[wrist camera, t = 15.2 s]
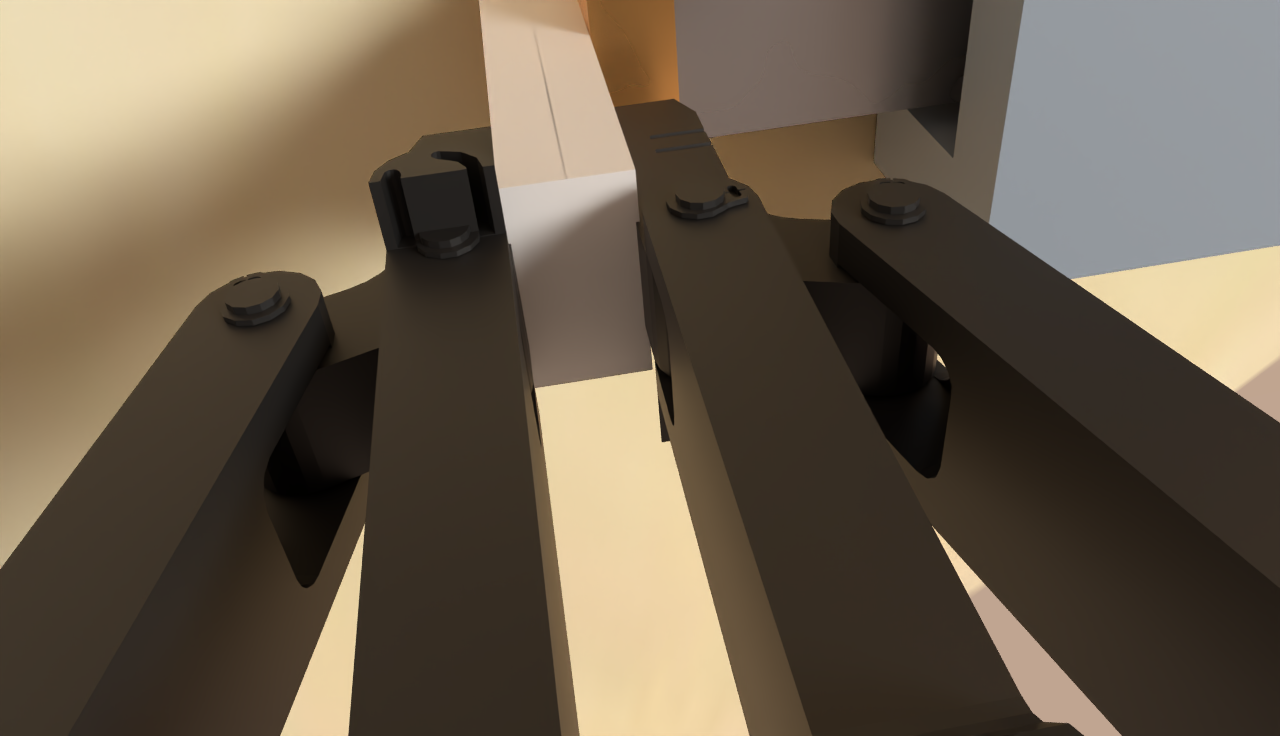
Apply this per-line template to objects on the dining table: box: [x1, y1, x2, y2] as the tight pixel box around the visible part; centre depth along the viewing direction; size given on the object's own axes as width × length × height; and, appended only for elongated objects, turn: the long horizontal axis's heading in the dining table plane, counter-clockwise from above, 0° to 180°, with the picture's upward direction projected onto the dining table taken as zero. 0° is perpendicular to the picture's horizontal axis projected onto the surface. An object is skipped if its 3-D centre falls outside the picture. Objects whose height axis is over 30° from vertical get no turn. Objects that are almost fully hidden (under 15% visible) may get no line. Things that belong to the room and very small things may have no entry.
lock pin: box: [577, 0, 973, 138], centre depth 17 cm, size 14×4×4 cm, turn 94°
